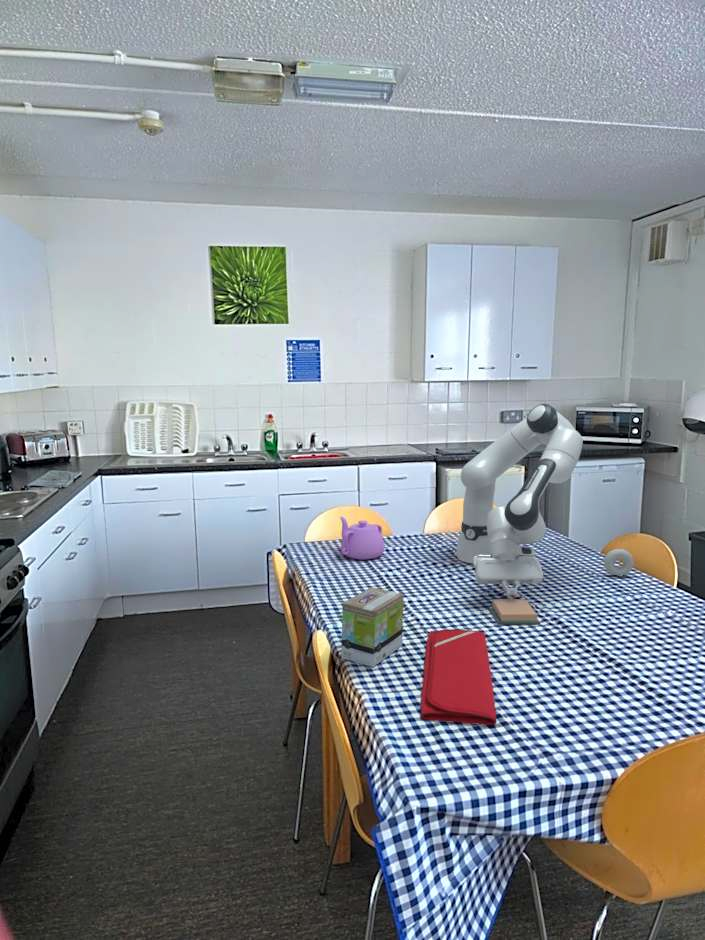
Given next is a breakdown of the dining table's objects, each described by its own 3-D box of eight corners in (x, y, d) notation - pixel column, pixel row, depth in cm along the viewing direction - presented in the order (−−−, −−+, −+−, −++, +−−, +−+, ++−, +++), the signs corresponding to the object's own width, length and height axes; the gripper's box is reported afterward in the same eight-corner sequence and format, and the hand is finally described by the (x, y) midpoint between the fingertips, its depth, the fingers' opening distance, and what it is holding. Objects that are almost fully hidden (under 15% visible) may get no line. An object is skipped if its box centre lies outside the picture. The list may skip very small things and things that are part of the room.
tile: (492, 599, 190) (501, 614, 179) (525, 599, 190) (536, 614, 179) (492, 606, 191) (501, 622, 179) (525, 606, 191) (536, 622, 179)
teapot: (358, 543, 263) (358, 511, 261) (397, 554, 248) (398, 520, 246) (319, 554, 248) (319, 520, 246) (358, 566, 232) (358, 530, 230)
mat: (489, 609, 190) (489, 608, 190) (529, 609, 190) (529, 607, 190) (497, 624, 179) (497, 622, 179) (539, 624, 179) (539, 622, 179)
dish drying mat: (419, 722, 130) (419, 705, 130) (426, 639, 170) (427, 626, 170) (496, 728, 128) (497, 711, 127) (485, 643, 168) (486, 630, 167)
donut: (604, 577, 220) (606, 549, 218) (601, 574, 223) (603, 547, 221) (634, 578, 219) (636, 550, 217) (631, 575, 222) (632, 547, 220)
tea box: (375, 668, 153) (375, 610, 150) (340, 659, 158) (340, 602, 156) (403, 646, 165) (404, 592, 163) (370, 637, 171) (370, 585, 168)
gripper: (473, 550, 193) (479, 591, 185) (539, 549, 194) (548, 590, 185) (470, 559, 199) (475, 600, 190) (535, 559, 199) (543, 599, 191)
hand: (512, 595), depth 188 cm, fingers closed
